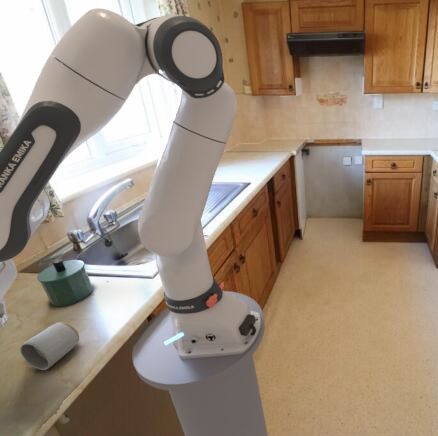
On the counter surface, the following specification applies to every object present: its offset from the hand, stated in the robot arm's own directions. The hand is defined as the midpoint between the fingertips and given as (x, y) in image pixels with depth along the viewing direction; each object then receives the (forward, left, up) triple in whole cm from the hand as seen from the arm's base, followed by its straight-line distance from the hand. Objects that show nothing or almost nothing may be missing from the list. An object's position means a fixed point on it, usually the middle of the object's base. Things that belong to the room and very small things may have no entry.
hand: (1, 325), depth 60 cm
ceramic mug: (+5, -8, -18) cm, 20 cm away
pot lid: (+20, -30, -9) cm, 37 cm away
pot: (+20, -30, -18) cm, 40 cm away
